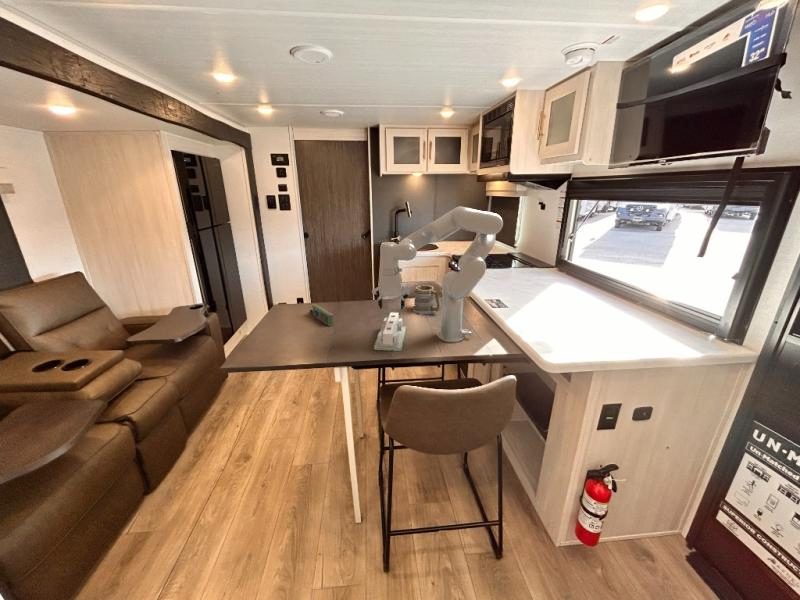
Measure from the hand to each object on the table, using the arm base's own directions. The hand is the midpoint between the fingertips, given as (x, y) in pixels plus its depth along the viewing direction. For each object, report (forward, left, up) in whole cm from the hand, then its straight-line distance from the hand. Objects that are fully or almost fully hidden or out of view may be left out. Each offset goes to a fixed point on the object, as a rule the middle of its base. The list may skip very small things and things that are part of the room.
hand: (391, 307), depth 141 cm
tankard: (-16, -35, -16) cm, 42 cm away
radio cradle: (+1, 0, -16) cm, 16 cm away
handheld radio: (+42, -20, -16) cm, 49 cm away
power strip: (0, 0, -12) cm, 12 cm away
